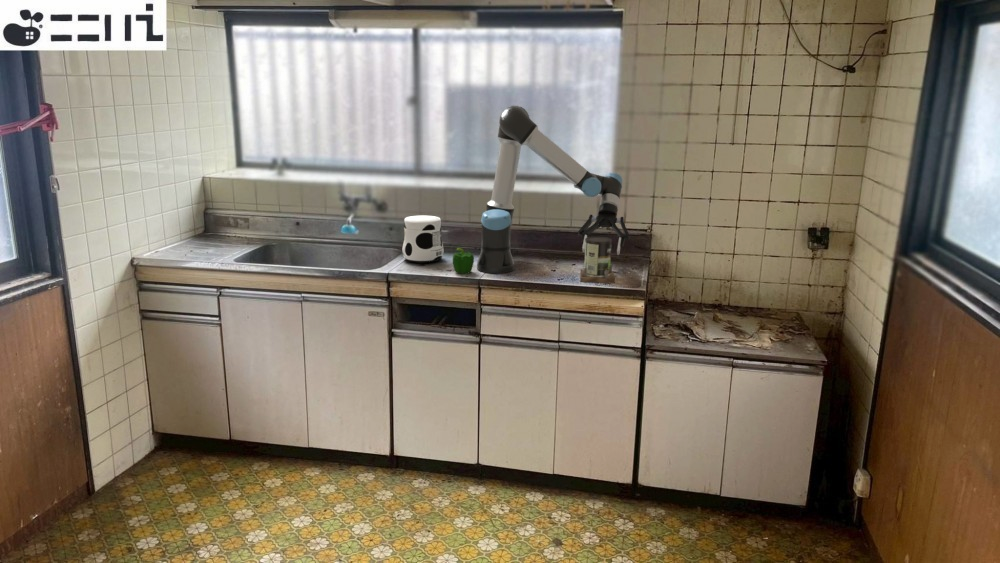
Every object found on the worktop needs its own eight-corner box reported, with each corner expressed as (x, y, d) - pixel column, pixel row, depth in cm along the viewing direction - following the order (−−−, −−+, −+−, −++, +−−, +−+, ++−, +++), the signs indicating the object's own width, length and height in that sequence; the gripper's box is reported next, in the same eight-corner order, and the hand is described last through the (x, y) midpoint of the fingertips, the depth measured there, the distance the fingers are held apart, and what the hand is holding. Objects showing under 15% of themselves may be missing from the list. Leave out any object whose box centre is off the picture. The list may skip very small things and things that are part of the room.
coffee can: (610, 271, 282) (612, 237, 279) (609, 278, 273) (611, 242, 269) (584, 270, 284) (586, 235, 280) (582, 276, 274) (584, 241, 271)
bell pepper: (476, 270, 286) (476, 246, 284) (470, 276, 279) (470, 251, 276) (456, 269, 288) (456, 245, 286) (450, 274, 281) (449, 249, 278)
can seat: (580, 281, 273) (580, 269, 272) (580, 273, 286) (580, 261, 284) (614, 283, 272) (615, 271, 271) (613, 274, 284) (613, 263, 283)
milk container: (403, 255, 309) (402, 215, 305) (443, 255, 311) (442, 214, 306) (401, 265, 293) (401, 222, 288) (444, 265, 295) (443, 222, 290)
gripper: (640, 214, 288) (633, 259, 278) (579, 210, 295) (570, 254, 285) (639, 204, 281) (632, 249, 272) (577, 200, 288) (568, 244, 279)
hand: (600, 251), depth 278 cm, fingers open, 13 cm apart
